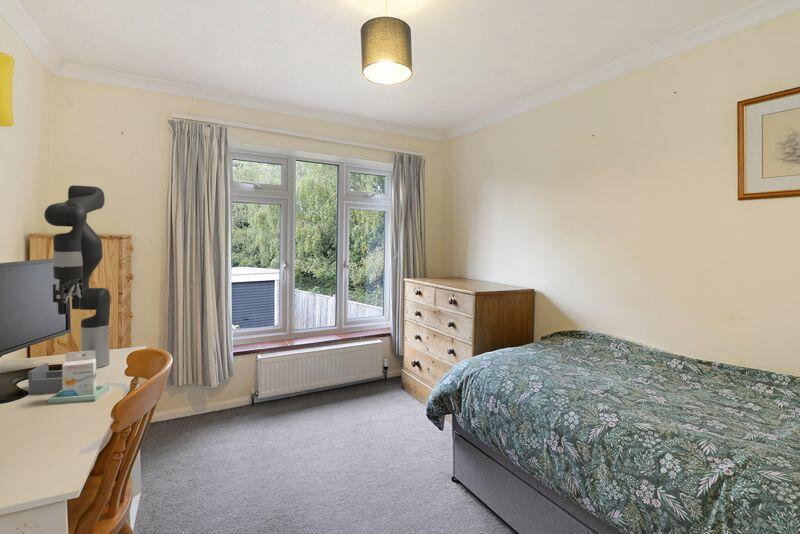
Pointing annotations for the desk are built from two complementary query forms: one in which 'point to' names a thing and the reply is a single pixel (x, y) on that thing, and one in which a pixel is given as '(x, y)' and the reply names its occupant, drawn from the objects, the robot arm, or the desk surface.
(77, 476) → the desk surface
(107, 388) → the tray
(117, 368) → the desk surface
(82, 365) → the ink box
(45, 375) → the bay
